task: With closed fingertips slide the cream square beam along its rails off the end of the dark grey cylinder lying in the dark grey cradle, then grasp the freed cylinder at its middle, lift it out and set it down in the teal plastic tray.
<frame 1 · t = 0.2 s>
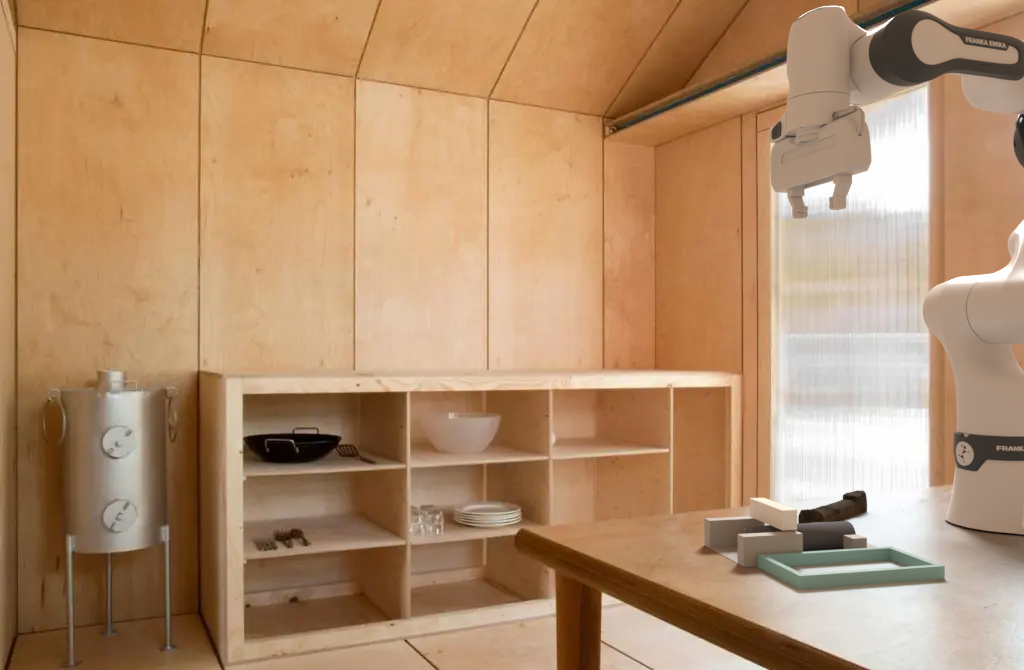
hand: (818, 214, 126), 47 cm above the table, fingers open, 8 cm apart
dark grey cylinder: (800, 550, 112), point 1 cm above the table, touching cradle
tray: (848, 582, 102), on the table
cradle: (800, 559, 112), on the table
hand tool: (835, 526, 134), on the table
cream square beam: (772, 513, 112), point 6 cm above the table, slide at 0.0 cm
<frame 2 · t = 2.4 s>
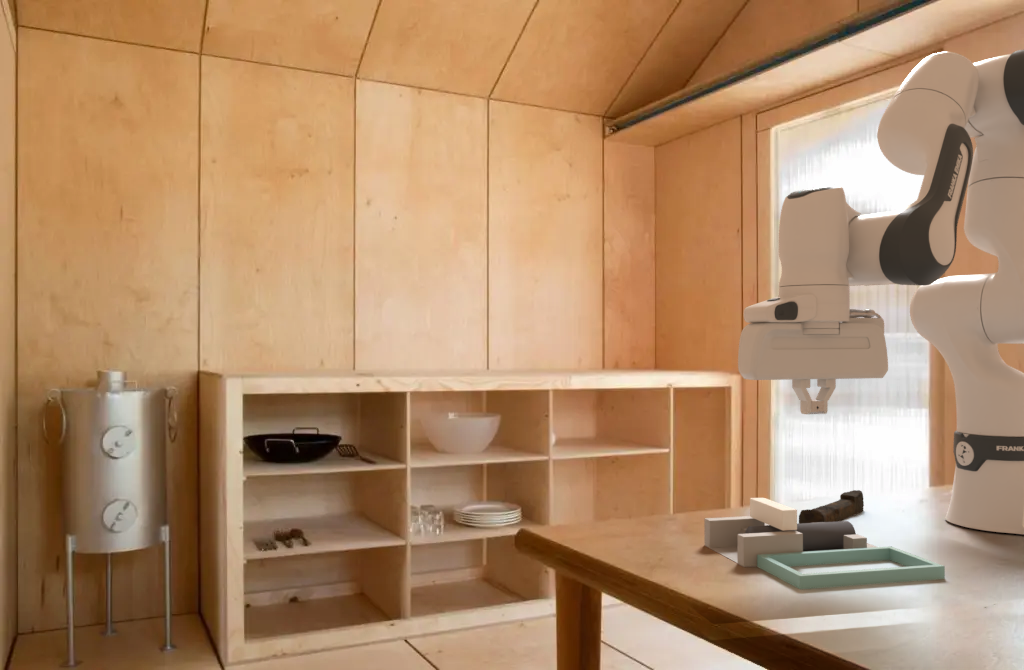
hand: (813, 413, 113), 19 cm above the table, fingers closed
nothing on the table moved.
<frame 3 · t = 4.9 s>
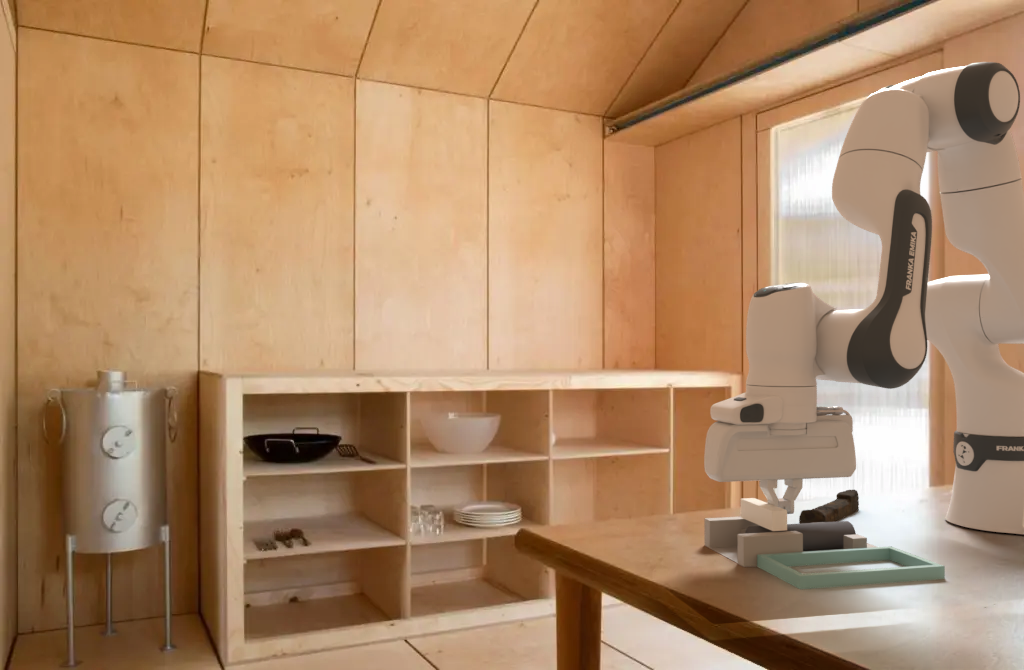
hand: (780, 513, 112), 6 cm above the table, fingers closed
cream square beam: (763, 513, 111), point 6 cm above the table, slide at 1.4 cm, touching gripper
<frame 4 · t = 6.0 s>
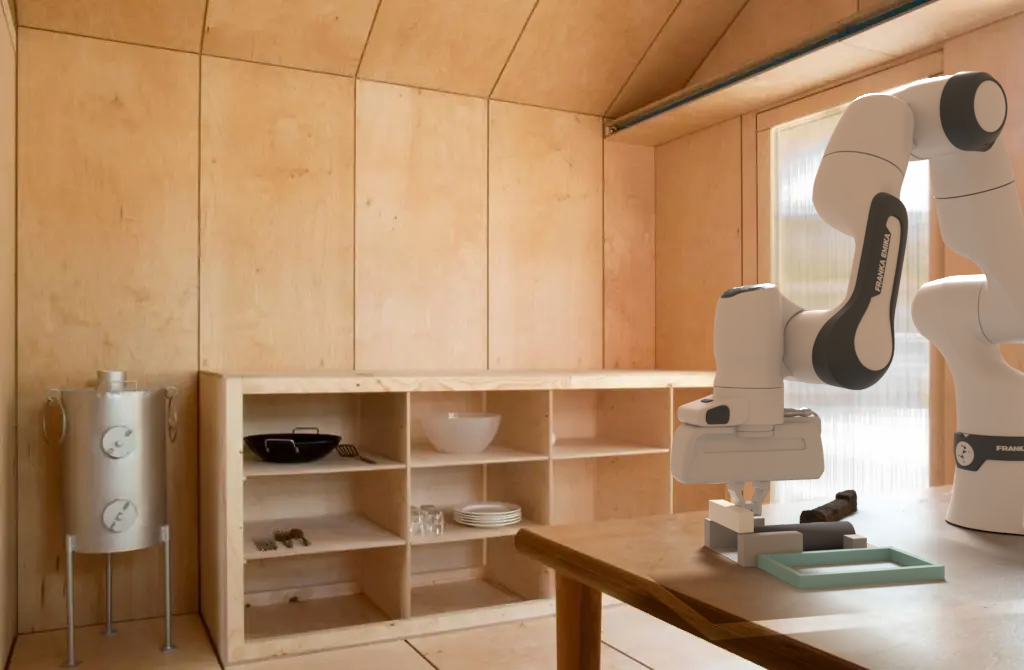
hand: (748, 516, 111), 6 cm above the table, fingers closed
cream square beam: (730, 515, 110), point 6 cm above the table, slide at 6.0 cm, touching gripper
everything else where it was.
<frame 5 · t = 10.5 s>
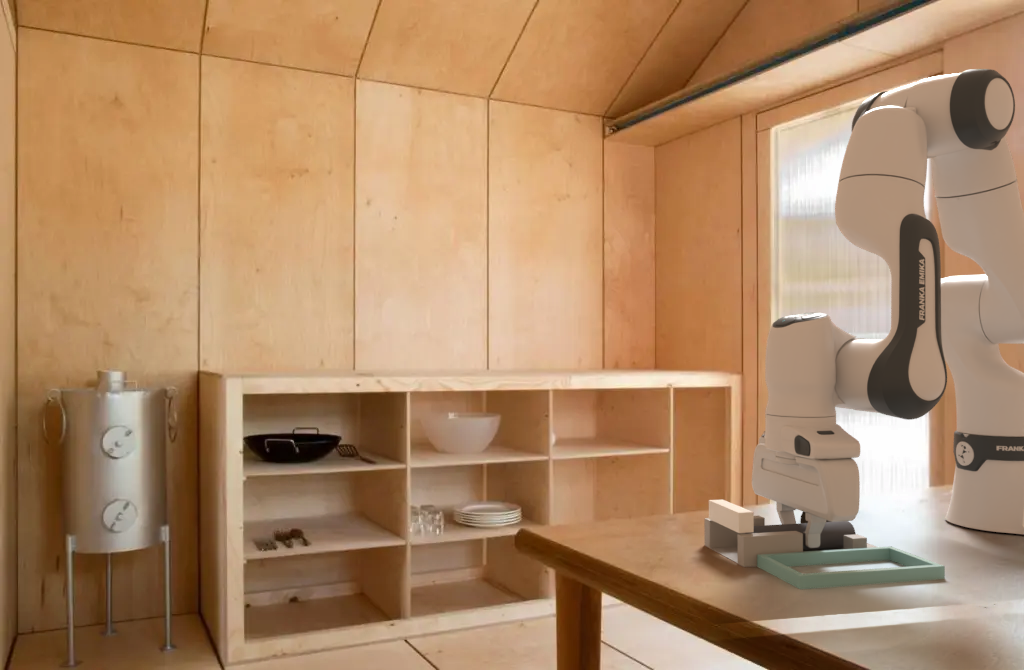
hand: (800, 542, 112), 2 cm above the table, fingers closed on dark grey cylinder, 3 cm apart
dark grey cylinder: (800, 550, 112), point 1 cm above the table, touching cradle, gripper
cream square beam: (730, 515, 110), point 6 cm above the table, slide at 6.0 cm
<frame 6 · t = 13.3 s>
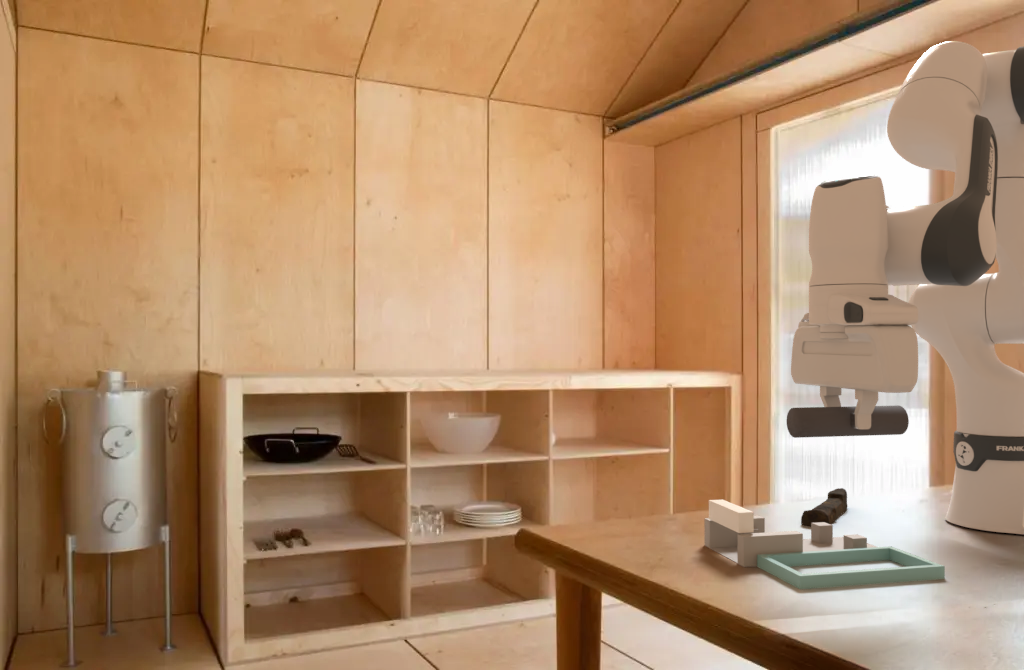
hand: (848, 426, 102), 19 cm above the table, fingers closed on dark grey cylinder, 3 cm apart
dark grey cylinder: (847, 435, 102), point 17 cm above the table, touching gripper
when the fingers open (3 cm above the table, at t = 16.3 s): dark grey cylinder drops 2 cm, resting on tray.
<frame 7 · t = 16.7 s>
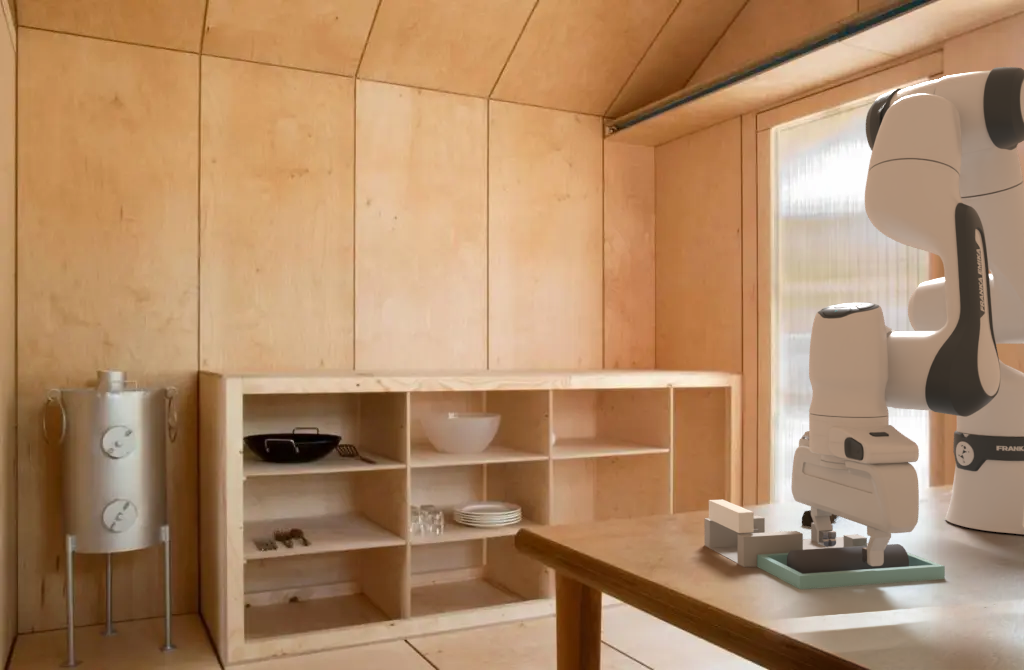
hand: (848, 554, 102), 3 cm above the table, fingers open, 8 cm apart
dark grey cylinder: (848, 577, 102), point 1 cm above the table, touching tray
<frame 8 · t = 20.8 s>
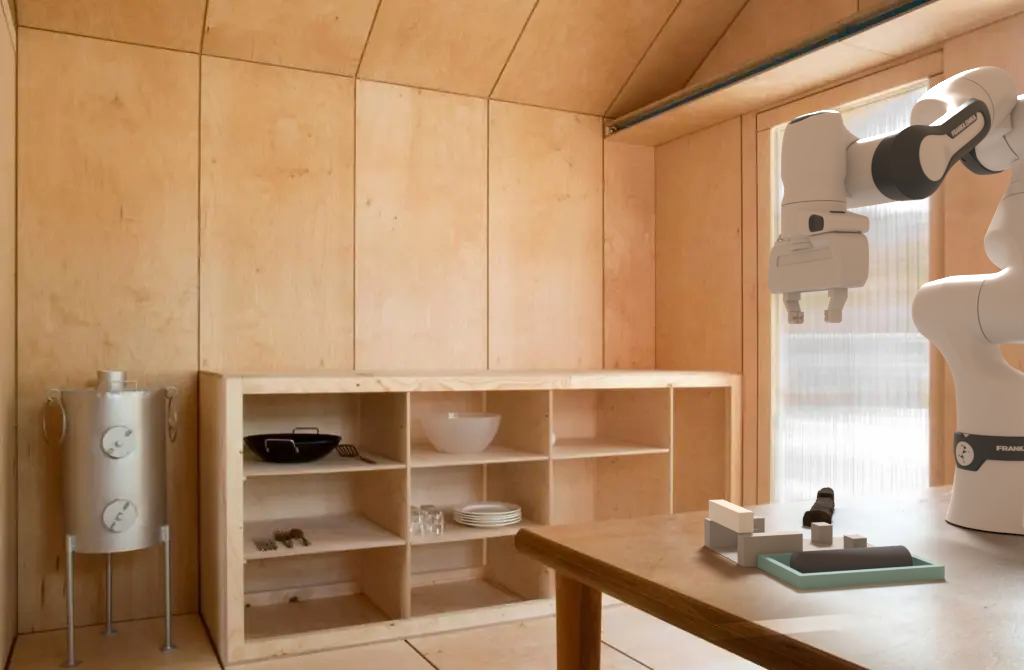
hand: (813, 323, 122), 31 cm above the table, fingers open, 8 cm apart
dark grey cylinder: (848, 576, 102), point 1 cm above the table, tilted 19°, touching tray
at the end: cream square beam slide at 6.0 cm; dark grey cylinder inside the target area on the tray (0.0 cm from its centre), point 0.7 cm above the tray's base; the gripper is holding nothing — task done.
